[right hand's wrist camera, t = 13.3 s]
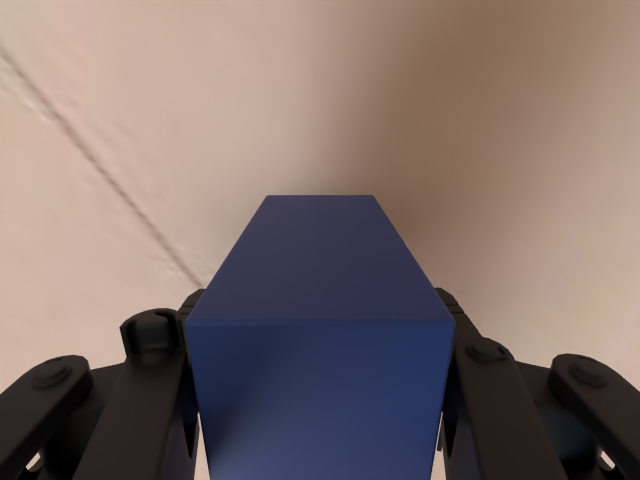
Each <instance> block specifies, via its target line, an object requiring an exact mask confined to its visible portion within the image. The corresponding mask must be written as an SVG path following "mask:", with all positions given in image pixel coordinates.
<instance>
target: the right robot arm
mask: <svg viewBox="0 0 640 480" xmlns="http://www.w3.org/2000/svg"><path fill="white" fill-rule="evenodd" d="M434 289H435V290H436V292H437V293H438V295H439V296H440V298H441V299H442V301H443V302H444V304H445V306H446V307H447V309H448V310H449V312H450V313H451V315H452V316H453V318H454V319H455V322H456V327H455V333H454V339H453V345H452V351H451V357H450V363H449V370H448V376H447V382H446V388H445V394H444V400H443V406H442V412H443V415H442V421H441V427H440V433H439V439H438V445H437V451H441V450H442V447H443V456H444V464H445V473H446V480H640V392H639V391H638V390H637V389H636V388H635V387H633V386H632V385H631V384H630V383H629V382H628V381H626V380H625V379H624V378H623V377H622V376H621V375H619V374H618V373H617V372H616V371H614V370H613V369H611V368H610V367H608V366H607V365H605V364H603V363H601V362H599V361H596V360H595V359H593V358H590V357H586V356H582V355H577V354H568V353H567V354H561V355H557V356H556V357H555V358H554V359H553V361H552V364H551V368H545V367H540V366H536V365H531V364H526V363H522V362H518V361H515V359H514V357H513V355H512V354H511V353H510V351H509V350H508V349H507V348H505V347H504V346H503V345H501V344H500V343H498V342H496V341H493V340H491V339H489V338H485V337H482V336H481V334H480V333H479V331H478V330H477V329H476V327H475V326H474V325H473V323H472V322H471V320H470V319H469V318H468V316H467V315H466V314H464V311H463V309H462V308H461V307H460V306H459V304H458V303H457V301H456V300H455V298H454V297H453V296H452V295H451V294H449V293H448V292H446V291H445V290H443V289H442V288H434ZM205 290H206V289H199V290H197V291H196V292H194V293H193V294H191V295H190V296H188V297H187V299H186V300H185V302H184V303H183V304H182V307H180V308H179V310H178V311H176V310H173V309H168V308H157V309H152V310H147V311H144V312H141V313H138V314H136V315H134V316H132V317H130V318H129V319H127V320H126V321H125V322H124V323H123V324H122V325H121V326H120V327H119V328H120V332H121V336H122V340H123V344H124V348H125V352H126V356H127V358H126V360H125V362H124V363H120V364H116V365H112V366H107V367H102V368H97V369H93V370H90V367H89V363H88V360H86V359H85V358H84V357H83V356H77V355H68V356H61V357H56V358H53V359H50V360H47V361H45V362H43V363H41V364H39V365H37V366H35V367H33V368H32V369H30V370H29V371H28V372H26V373H25V374H23V375H22V376H21V377H20V378H19V379H17V380H16V381H15V382H14V383H13V384H12V385H11V386H9V387H8V388H7V389H6V390H5V391H4V392H3V393H1V394H0V480H194V474H195V465H196V457H197V448H198V439H199V430H200V428H199V421H198V412H199V408H198V402H197V396H196V390H195V384H194V378H193V371H192V365H191V359H190V353H189V347H188V341H187V335H186V329H185V321H186V319H187V317H188V316H189V314H190V313H191V311H192V310H193V308H194V307H195V305H196V304H197V302H198V300H199V299H200V297H201V296H202V294H203V293H204V291H205ZM602 451H604V452H605V453H606V454H607V456H608V457H609V458H610V459H611V460H612V461H613V463H614V464H615V467H614V468H613V469H612V468H611V467H610V466H609V465H608V464H607V463H606V462H605V461H604V460H603V458H602V457H601V454H602ZM37 453H39V455H40V458H39V460H38V461H37V462H36V463H35V464H34V465H33V466H32V467H31V468H30V469H29V470H27V468H26V466H27V464H28V463H29V462H30V461H31V460H32V458H33V457H34V456H35V455H36V454H37Z"/></svg>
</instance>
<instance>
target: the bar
mask: <svg viewBox="0 0 640 480" xmlns="http://www.w3.org/2000/svg"><path fill="white" fill-rule="evenodd" d="M455 327H456V322H455V319H454V318H453V316H452V315H451V313H450V312H449V310H448V309H447V307H446V306H445V304H444V302H443V301H442V299H441V298H440V296H439V295H438V293H437V292H436V290H435V289H434V287H433V286H432V284H431V283H430V281H429V280H428V278H427V277H426V275H425V274H424V272H423V271H422V269H421V268H420V266H419V265H418V263H417V262H416V260H415V258H414V257H413V255H412V254H411V252H410V251H409V249H408V248H407V246H406V245H405V243H404V242H403V240H402V239H401V237H400V236H399V234H398V233H397V231H396V230H395V228H394V227H393V225H392V224H391V222H390V221H389V219H388V217H387V216H386V214H385V213H384V211H383V210H382V208H381V207H380V205H379V204H378V202H377V201H376V199H375V198H374V196H372V195H268V196H266V198H265V199H264V201H263V202H262V204H261V205H260V207H259V208H258V210H257V212H256V213H255V215H254V216H253V218H252V219H251V221H250V222H249V224H248V225H247V227H246V228H245V230H244V231H243V233H242V235H241V236H240V238H239V239H238V241H237V242H236V244H235V245H234V247H233V248H232V250H231V251H230V253H229V254H228V256H227V258H226V259H225V261H224V262H223V264H222V265H221V267H220V268H219V270H218V271H217V273H216V274H215V276H214V277H213V279H212V281H211V282H210V284H209V285H208V287H207V288H206V290H205V291H204V293H203V294H202V296H201V297H200V299H199V300H198V302H197V304H196V305H195V307H194V308H193V310H192V311H191V313H190V314H189V316H188V317H187V319H186V321H185V329H186V335H187V341H188V347H189V353H190V359H191V365H192V371H193V378H194V384H195V390H196V396H197V402H198V408H199V414H200V420H201V426H202V433H203V439H204V445H205V451H206V457H207V463H208V469H209V475H210V480H430V479H431V473H432V467H433V461H434V455H435V449H436V442H437V436H438V430H439V424H440V418H441V412H442V406H443V400H444V394H445V388H446V382H447V376H448V370H449V363H450V357H451V351H452V345H453V339H454V333H455Z"/></svg>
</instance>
